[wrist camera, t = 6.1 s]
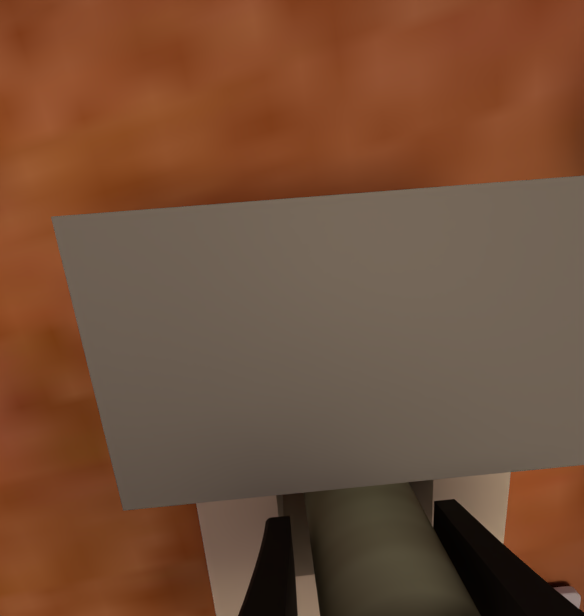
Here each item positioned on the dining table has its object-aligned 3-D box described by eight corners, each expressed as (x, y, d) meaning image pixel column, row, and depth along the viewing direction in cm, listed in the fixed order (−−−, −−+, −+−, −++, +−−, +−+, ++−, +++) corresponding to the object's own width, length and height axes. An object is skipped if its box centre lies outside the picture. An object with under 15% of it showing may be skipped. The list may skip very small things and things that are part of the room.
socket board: (452, 547, 17) (567, 761, 10) (228, 571, 16) (196, 807, 10) (471, 196, 12) (689, 167, 6) (172, 219, 12) (50, 216, 6)
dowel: (374, 459, 15) (481, 698, 8) (298, 467, 15) (330, 721, 8) (373, 390, 15) (494, 581, 7) (293, 398, 14) (322, 603, 7)
